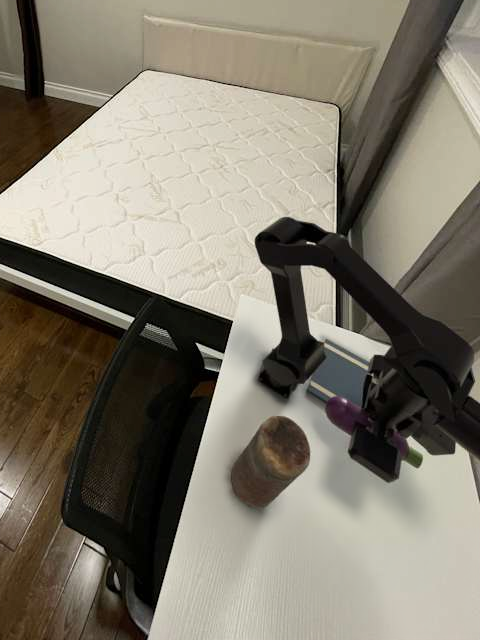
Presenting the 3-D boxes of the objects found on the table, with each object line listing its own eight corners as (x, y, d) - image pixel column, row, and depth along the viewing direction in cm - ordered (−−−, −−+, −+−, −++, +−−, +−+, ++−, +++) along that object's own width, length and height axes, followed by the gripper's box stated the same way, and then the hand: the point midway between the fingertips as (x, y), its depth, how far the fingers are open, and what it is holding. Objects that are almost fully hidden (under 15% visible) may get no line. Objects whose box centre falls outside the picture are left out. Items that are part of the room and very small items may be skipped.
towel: (306, 391, 75) (307, 389, 75) (325, 339, 84) (326, 338, 84) (358, 423, 71) (360, 422, 71) (372, 365, 80) (373, 364, 79)
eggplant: (317, 420, 66) (327, 409, 63) (325, 396, 69) (335, 385, 66) (409, 480, 59) (425, 471, 56) (413, 451, 63) (428, 441, 59)
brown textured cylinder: (276, 467, 65) (312, 425, 53) (274, 518, 60) (312, 485, 47) (233, 450, 67) (258, 406, 54) (227, 498, 62) (252, 461, 49)
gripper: (468, 498, 44) (406, 523, 54) (471, 373, 56) (420, 413, 66) (369, 435, 49) (329, 469, 59) (391, 333, 61) (354, 375, 71)
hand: (361, 429), depth 64 cm, fingers closed on eggplant, 5 cm apart
